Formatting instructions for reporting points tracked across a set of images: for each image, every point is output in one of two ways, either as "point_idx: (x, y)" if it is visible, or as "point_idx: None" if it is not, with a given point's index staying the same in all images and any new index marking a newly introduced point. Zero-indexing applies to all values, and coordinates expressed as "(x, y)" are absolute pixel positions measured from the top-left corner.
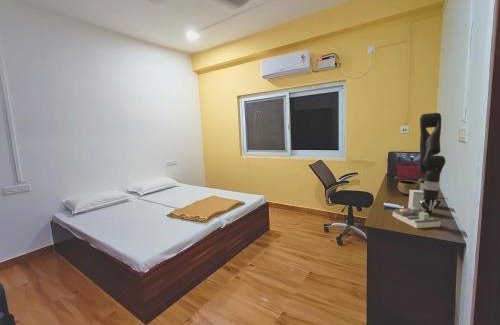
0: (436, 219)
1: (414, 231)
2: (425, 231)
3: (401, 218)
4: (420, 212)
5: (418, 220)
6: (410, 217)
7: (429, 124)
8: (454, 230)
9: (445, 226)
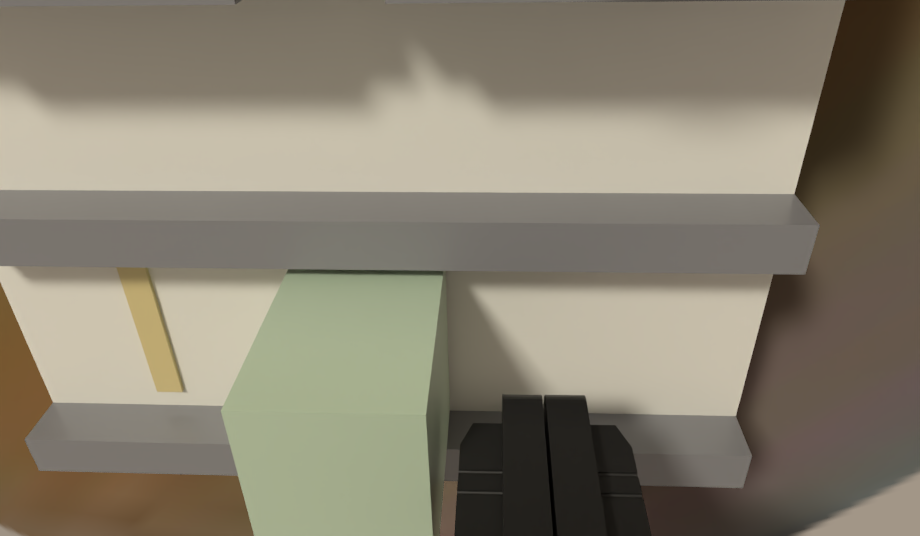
0: (640, 484)
1: (22, 458)
2: (217, 486)
3: None
4: (236, 461)
5: (122, 457)
6: (3, 264)
7: None
8: (750, 533)
9: (795, 401)
